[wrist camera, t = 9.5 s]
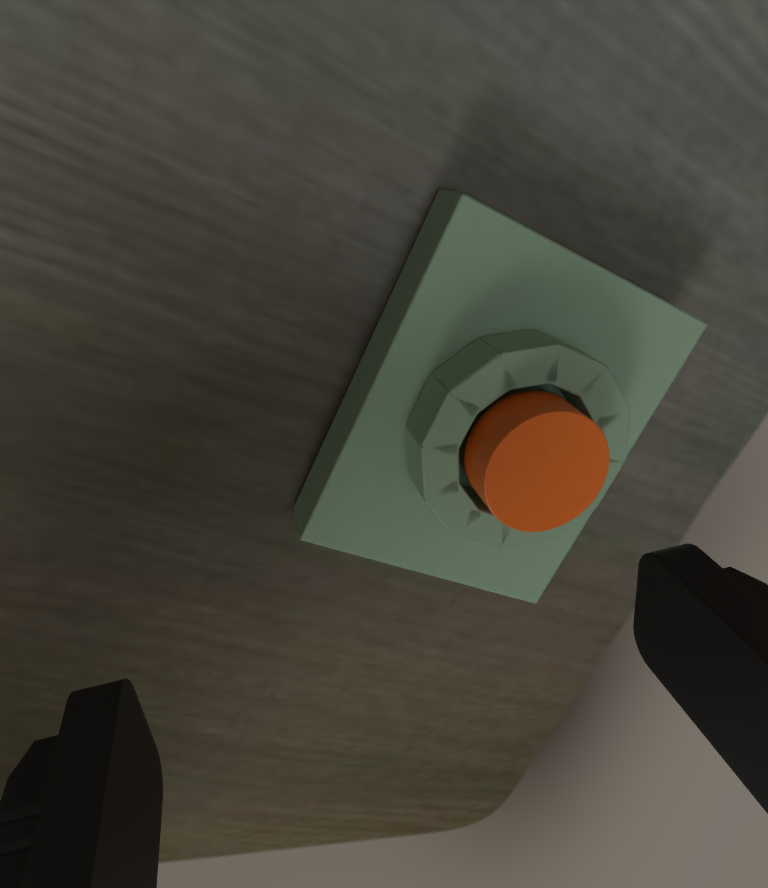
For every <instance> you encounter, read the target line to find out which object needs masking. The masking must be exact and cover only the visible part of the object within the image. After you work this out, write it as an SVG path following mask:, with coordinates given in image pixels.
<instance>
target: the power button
mask: <svg viewBox="0 0 768 888" xmlns="http://www.w3.org/2000/svg"><path fill="white" fill-rule="evenodd" d="M609 456H610V455H609V447H608V444H607V440H606V438H605V435H604V433H603V432H602V430H601V429H600V427H599V426H598V425H597V424H596V423H595V422H594V421H593V420H591V419H590V418H588V417H587V416H586V415H584V414H583V413H582V412H580V411H579V410H578V409H576V408H575V407H574V406H572V405H571V404H570V403H568V402H567V401H566V400H564V399H563V398H561V397H559V396H558V395H556V394H553V393H550V392H545V391H524V392H520V393H516V394H513V395H510V396H508V397H506V398H504V399H502V400H500V401H499V402H497V403H496V404H494V405H493V406H492V407H490V408H489V409H488V410H487V411H486V412H485V413H484V414H483V415H482V416H481V417H480V419H479V420H478V421H477V423H476V424H475V426H474V427H473V429H472V431H471V433H470V435H469V437H468V440H467V444H466V448H465V454H464V465H465V471H466V475H467V478H468V480H469V482H470V484H471V485H472V487H473V488H474V490H475V491H476V492H477V494H478V495H479V496H480V498H481V499H482V500H483V502H484V503H485V504H486V506H487V507H488V508H489V510H490V511H491V512H492V514H493V515H494V516H495V517H496V518H497V519H498V520H499V521H500V522H502V523H503V524H505V525H506V526H508V527H510V528H513V529H515V530H520V531H525V532H541V531H547V530H551V529H554V528H557V527H559V526H562V525H564V524H566V523H568V522H569V521H571V520H573V519H574V518H576V517H577V516H578V515H580V514H581V513H582V512H583V511H584V510H585V509H586V508H587V507H588V506H589V505H590V504H591V503H592V502H593V501H594V499H595V498H596V496H597V495H598V494H599V492H600V490H601V488H602V486H603V484H604V482H605V479H606V476H607V473H608V468H609Z"/></svg>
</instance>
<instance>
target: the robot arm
mask: <svg viewBox="0 0 768 888" xmlns="http://www.w3.org/2000/svg"><path fill="white" fill-rule="evenodd" d="M633 628H634V636H635V640H636V644H637V646H638V649H639V652H640V654H641V656H642V657H643V659H644V661H645V663H646V664H647V665H648V667H649V668H650V669H651V670H652V672H653V673H654V674H655V675H656V677H657V678H658V679H659V680H660V682H661V683H662V684H663V685H664V686H665V688H666V689H667V690H668V691H669V693H670V694H671V695H672V696H673V698H674V699H675V700H676V701H677V703H678V704H679V705H680V706H681V707H682V708H683V710H684V711H685V712H686V714H687V715H688V716H689V717H690V719H691V720H692V721H693V722H694V723H695V724H696V726H697V727H698V728H699V730H700V731H701V732H702V733H703V734H704V736H705V737H706V738H707V739H708V741H709V742H710V743H711V744H712V746H713V747H714V748H715V749H716V750H717V752H718V753H719V754H720V755H721V757H722V758H723V759H724V760H725V762H726V763H727V764H728V765H729V767H730V768H731V769H732V770H733V772H734V773H735V774H736V775H737V776H738V778H739V779H740V780H741V781H742V783H743V784H744V785H745V786H746V787H747V789H748V790H749V791H750V792H751V794H752V795H753V796H754V797H755V799H756V800H757V801H758V802H759V804H760V805H761V806H762V807H763V808H764V810H765V811H766V812H767V813H768V585H767V584H766V583H763V582H762V581H759V580H757V579H755V578H753V577H751V576H749V575H747V574H745V573H743V572H740V571H738V570H736V569H734V568H732V567H727V568H724V569H723V568H722V567H720V566H719V565H718V564H717V563H716V562H715V561H713V560H712V559H711V558H710V557H709V556H708V555H707V554H705V553H704V552H703V551H702V550H701V549H699V548H698V547H697V546H695V545H692V544H683V545H679V546H675V547H671V548H667V549H662V550H658V551H654V552H650V553H646V554H644V555H643V556H642V557H641V559H640V562H639V568H638V579H637V591H636V602H635V613H634V626H633ZM162 801H163V779H162V770H161V763H160V758H159V754H158V750H157V747H156V745H155V742H154V739H153V737H152V734H151V732H150V729H149V726H148V724H147V721H146V718H145V716H144V713H143V710H142V708H141V705H140V702H139V700H138V697H137V695H136V692H135V689H134V687H133V685H132V683H131V681H130V680H129V679H122V680H118V681H114V682H110V683H106V684H102V685H98V686H94V687H90V688H85V689H81V690H77V691H73V692H72V693H71V694H70V695H69V697H68V699H67V703H66V706H65V710H64V715H63V719H62V723H61V727H60V731H59V735H56V736H53V737H49V738H45V739H41V740H37V741H34V742H33V744H32V745H31V747H30V748H29V749H28V751H27V752H26V754H25V755H24V756H23V758H22V759H21V761H20V762H19V763H18V765H17V766H16V768H15V769H14V771H13V772H12V773H11V775H10V776H9V778H8V780H7V783H6V786H5V789H4V792H3V796H2V799H1V802H0V888H156V886H157V873H158V858H159V844H160V830H161V815H162Z"/></svg>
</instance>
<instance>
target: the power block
mask: <svg viewBox="0 0 768 888" xmlns="http://www.w3.org/2000/svg"><path fill="white" fill-rule="evenodd" d="M706 327H707V323H706V322H704V321H702V320H701V319H699V318H697V317H695V316H693V315H691V314H689V313H687V312H686V311H684V310H682V309H680V308H678V307H676V306H674V305H672V304H671V303H669V302H667V301H665V300H663V299H661V298H659V297H658V296H656V295H654V294H652V293H650V292H648V291H646V290H644V289H643V288H641V287H639V286H637V285H635V284H633V283H631V282H629V281H628V280H626V279H624V278H622V277H620V276H618V275H616V274H614V273H613V272H611V271H609V270H607V269H605V268H603V267H601V266H600V265H598V264H596V263H594V262H592V261H590V260H588V259H586V258H585V257H583V256H581V255H579V254H577V253H575V252H573V251H571V250H570V249H568V248H566V247H564V246H562V245H560V244H558V243H556V242H555V241H553V240H551V239H549V238H547V237H545V236H543V235H541V234H540V233H538V232H536V231H534V230H532V229H530V228H528V227H527V226H525V225H523V224H521V223H519V222H517V221H515V220H513V219H512V218H510V217H508V216H506V215H504V214H502V213H500V212H498V211H497V210H495V209H493V208H491V207H489V206H487V205H485V204H483V203H482V202H480V201H478V200H476V199H474V198H472V197H470V196H469V195H467V194H465V193H460V192H456V191H451V190H447V189H441V188H440V189H439V191H438V193H437V195H436V197H435V199H434V202H433V204H432V206H431V208H430V210H429V212H428V215H427V217H426V219H425V221H424V223H423V226H422V228H421V230H420V232H419V234H418V236H417V239H416V241H415V243H414V245H413V247H412V250H411V252H410V254H409V256H408V258H407V261H406V263H405V265H404V267H403V269H402V271H401V274H400V276H399V278H398V280H397V282H396V285H395V287H394V289H393V291H392V293H391V295H390V298H389V300H388V302H387V304H386V306H385V309H384V311H383V313H382V315H381V317H380V320H379V322H378V324H377V326H376V328H375V330H374V333H373V335H372V337H371V339H370V341H369V344H368V346H367V348H366V350H365V352H364V354H363V357H362V359H361V361H360V363H359V365H358V368H357V370H356V372H355V374H354V376H353V379H352V381H351V383H350V385H349V387H348V389H347V392H346V394H345V396H344V398H343V400H342V403H341V405H340V407H339V409H338V411H337V413H336V416H335V418H334V420H333V422H332V424H331V427H330V429H329V431H328V433H327V435H326V438H325V440H324V442H323V444H322V446H321V448H320V451H319V453H318V455H317V457H316V459H315V462H314V464H313V466H312V468H311V470H310V472H309V475H308V477H307V479H306V481H305V483H304V486H303V488H302V490H301V492H300V494H299V497H298V499H297V501H296V503H295V505H294V507H293V510H294V514H295V518H296V523H297V527H298V532H299V536H300V539H301V540H302V541H305V542H309V543H313V544H316V545H320V546H324V547H327V548H331V549H335V550H339V551H342V552H346V553H350V554H353V555H357V556H361V557H364V558H368V559H372V560H376V561H379V562H383V563H387V564H390V565H394V566H398V567H402V568H405V569H409V570H413V571H416V572H420V573H424V574H428V575H431V576H435V577H439V578H442V579H446V580H450V581H454V582H457V583H461V584H465V585H468V586H472V587H476V588H479V589H483V590H487V591H491V592H494V593H498V594H502V595H505V596H509V597H513V598H517V599H520V600H524V601H528V602H531V603H537V601H538V600H539V598H540V597H541V595H542V593H543V592H544V590H545V588H546V587H547V585H548V584H549V582H550V580H551V579H552V577H553V575H554V574H555V572H556V571H557V569H558V567H559V566H560V564H561V562H562V561H563V559H564V558H565V556H566V554H567V553H568V551H569V549H570V548H571V546H572V545H573V543H574V541H575V540H576V538H577V536H578V535H579V533H580V532H581V530H582V528H583V527H584V525H585V523H586V522H587V520H588V518H589V517H590V515H591V514H592V512H593V511H594V510H595V509H596V507H597V506H598V505H599V503H600V502H601V500H602V498H603V497H604V495H605V493H606V492H607V490H608V489H609V487H610V485H611V484H612V482H613V481H614V479H615V477H616V476H617V474H618V472H619V471H620V469H621V468H622V466H623V464H624V461H625V460H626V457H627V455H628V453H629V452H630V450H631V449H632V447H633V445H634V444H635V442H636V440H637V439H638V437H639V436H640V434H641V432H642V431H643V429H644V427H645V426H646V424H647V423H648V421H649V419H650V418H651V416H652V414H653V413H654V411H655V410H656V408H657V406H658V405H659V403H660V401H661V400H662V398H663V397H664V395H665V393H666V392H667V390H668V388H669V387H670V385H671V384H672V382H673V380H674V379H675V377H676V375H677V374H678V372H679V371H680V369H681V367H682V366H683V364H684V362H685V361H686V359H687V358H688V356H689V354H690V353H691V351H692V349H693V348H694V346H695V345H696V343H697V341H698V340H699V338H700V336H701V335H702V333H703V332H704V330H705V328H706ZM524 391H545V392H550V393H553V394H556V395H558V396H559V397H561V398H563V399H564V400H566V401H567V402H568V403H570V404H571V405H572V406H574V407H575V408H576V409H578V410H579V411H580V412H582V413H583V414H584V415H586V416H587V417H588V418H590V419H591V420H593V421H594V422H595V423H596V424H597V425H598V426H599V427H600V429H601V430H602V432H603V433H604V435H605V438H606V440H607V444H608V447H609V455H610V456H609V468H608V473H607V476H606V479H605V482H604V484H603V486H602V488H601V490H600V492H599V494H598V495H597V496H596V498H595V499H594V501H593V502H592V503H591V504H590V505H589V506H588V507H587V508H586V509H585V510H584V511H583V512H582V513H581V514H580V515H578V516H577V517H576V518H574V519H573V520H571V521H569V522H568V523H566V524H564V525H562V526H559V527H557V528H554V529H551V530H547V531H541V532H525V531H520V530H515V529H513V528H510V527H508V526H506V525H505V524H503V523H502V522H500V521H499V520H498V519H497V518H496V517H495V516H494V515H493V514H492V512H491V511H490V510H489V508H488V507H487V506H486V504H485V503H484V502H483V500H482V499H481V498H480V496H479V495H478V494H477V492H476V491H475V490H474V488H473V487H472V485H471V484H470V482H469V480H468V478H467V475H466V471H465V465H464V454H465V448H466V444H467V440H468V437H469V435H470V433H471V431H472V429H473V427H474V426H475V424H476V423H477V421H478V420H479V419H480V417H481V416H482V415H483V414H484V413H485V412H486V411H487V410H488V409H489V408H490V407H492V406H493V405H494V404H496V403H497V402H499V401H500V400H502V399H504V398H506V397H508V396H510V395H513V394H516V393H520V392H524Z"/></svg>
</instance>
